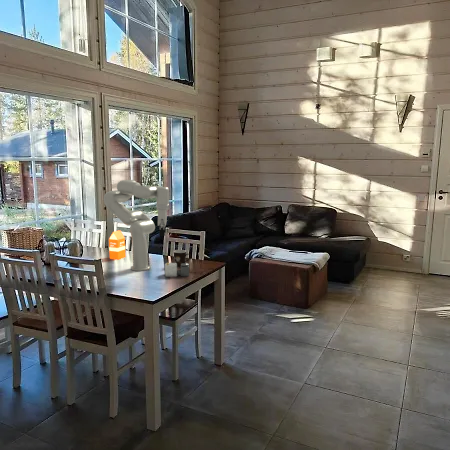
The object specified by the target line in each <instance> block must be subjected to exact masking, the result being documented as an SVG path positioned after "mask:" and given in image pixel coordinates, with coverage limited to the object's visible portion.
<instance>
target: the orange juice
mask: <svg viewBox="0 0 450 450" xmlns="http://www.w3.org/2000/svg"><path fill="white" fill-rule="evenodd" d="M108 250H109V252H108V253H109V259H110V260H116V259H117V261H118V260H122V259H124V258H126V237H125V236H124V234H123V232H122V230H121V229H119V230H116V231H112V233H111V235H110V236H109V238H108ZM121 258H122V259H121Z"/></svg>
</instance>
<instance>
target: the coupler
mask: <svg viewBox="0 0 450 450" xmlns="http://www.w3.org/2000/svg"><path fill="white" fill-rule="evenodd" d="M177 276H180V277H190V263H188V262H185V263H182V264H181V267H180V269H177Z"/></svg>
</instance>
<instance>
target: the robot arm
mask: <svg viewBox="0 0 450 450" xmlns="http://www.w3.org/2000/svg"><path fill="white" fill-rule="evenodd" d="M133 196H134V197H136V198H139V199H143V200H145V199H147V200H148V199H156V210H157V227H159V231H158V233H159V235H158V236H159V237H165V236H166V231H167V227H166V225H167V217H168V211H169V210H170V207H169V206H170V200H169V199H170V189H169V187H167V186H159V185H150V186H149V185H148V186H143V185H141V183H139V182H137V181H136V180H134V179H126V180H125V179H122V180H120V181H118V182H117V184H116V190H110V191H107V192H106V193H105V194H104V195H103V203H104V205H105V207H106V209H108V211H109V212H111V213H112V214H113V215H114V216H115V217H117V219H119V220H120V221H121V222H122V224H124V225H125V226H129V231H130V237H131V249H132V266H130V270H131V271H135V272H143V271H147V270H150V269H151V265H148V263H149V262H148V242H147V239H146V236H145V235H149V234H152V233H153V232H155V229H156V225H155V223H154V221H153V220H152V219H151V218H150V217H149V216H148V215H147V214H146V213H144V212H143V211H141V210H138V209H135V210H129V209H128V208H127V207H126V206H125V205H123V204H122V203H125V202H127V201H129V200H130V199H131V197H133Z"/></svg>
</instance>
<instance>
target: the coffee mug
mask: <svg viewBox="0 0 450 450" xmlns="http://www.w3.org/2000/svg"><path fill="white" fill-rule="evenodd" d="M187 255H189V256H190V257H189V258H188V259H187V258H186V256H187ZM173 257H174V258H173V259H174V263H177V268H181V264H182V263H187V262H188V261H190V259H192V255H191V253H187V250H184V249H175V250H173ZM186 259H187V260H186Z"/></svg>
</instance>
